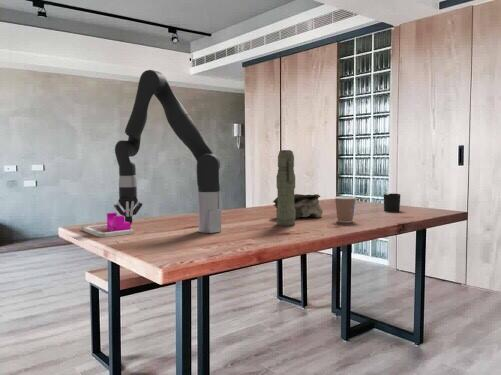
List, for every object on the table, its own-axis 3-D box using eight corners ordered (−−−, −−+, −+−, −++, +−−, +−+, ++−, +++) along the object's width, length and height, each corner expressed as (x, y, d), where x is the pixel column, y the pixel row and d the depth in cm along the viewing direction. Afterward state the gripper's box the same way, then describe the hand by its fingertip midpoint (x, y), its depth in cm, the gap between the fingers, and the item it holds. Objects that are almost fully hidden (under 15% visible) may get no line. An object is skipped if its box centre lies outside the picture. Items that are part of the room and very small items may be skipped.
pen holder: (401, 212, 242) (401, 194, 242) (384, 211, 244) (384, 194, 243) (398, 210, 252) (399, 193, 251) (382, 209, 253) (382, 193, 253)
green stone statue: (284, 226, 191) (284, 149, 189) (271, 223, 202) (271, 150, 200) (300, 225, 195) (300, 150, 193) (287, 222, 206) (287, 150, 203)
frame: (133, 233, 176) (133, 230, 176) (100, 237, 167) (100, 233, 167) (112, 226, 194) (112, 223, 194) (81, 230, 185) (81, 226, 185)
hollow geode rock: (274, 227, 218) (281, 209, 207) (267, 209, 226) (274, 190, 215) (323, 223, 226) (332, 205, 215) (315, 205, 234) (323, 187, 223)
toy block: (130, 233, 178) (130, 215, 178) (115, 234, 175) (115, 216, 175) (121, 228, 191) (120, 212, 191) (107, 229, 188) (106, 213, 187)
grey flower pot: (357, 222, 202) (358, 198, 201) (336, 222, 203) (336, 198, 202) (353, 219, 213) (353, 196, 212) (332, 219, 213) (333, 196, 212)
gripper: (116, 187, 179) (117, 227, 180) (145, 185, 187) (146, 224, 188) (109, 186, 184) (110, 225, 185) (138, 184, 193) (139, 222, 194)
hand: (128, 224), depth 187 cm, fingers closed
